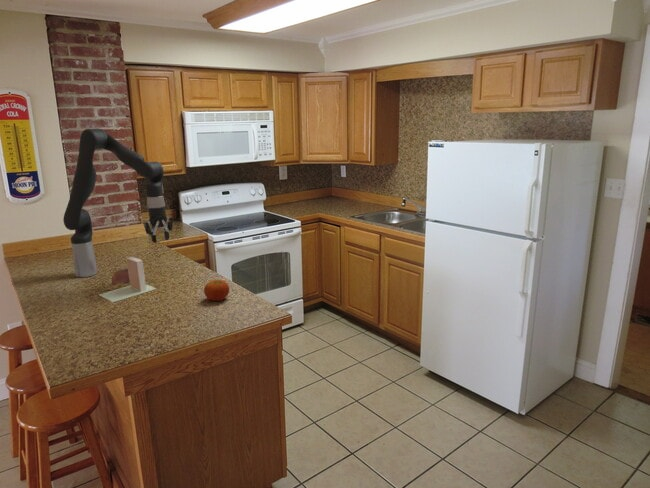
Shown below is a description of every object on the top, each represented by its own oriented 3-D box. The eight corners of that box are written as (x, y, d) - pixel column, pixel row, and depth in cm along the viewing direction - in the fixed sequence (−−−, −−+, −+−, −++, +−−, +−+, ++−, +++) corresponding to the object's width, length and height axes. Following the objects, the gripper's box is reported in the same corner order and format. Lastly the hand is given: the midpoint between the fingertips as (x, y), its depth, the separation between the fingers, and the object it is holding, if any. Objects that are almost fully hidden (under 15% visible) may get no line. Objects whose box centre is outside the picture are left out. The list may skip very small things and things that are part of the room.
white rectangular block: (135, 285, 215) (131, 256, 211) (146, 289, 208) (142, 260, 205) (130, 286, 213) (126, 257, 209) (141, 291, 207) (136, 261, 203)
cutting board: (141, 283, 219) (141, 282, 219) (156, 289, 210) (156, 288, 210) (98, 295, 205) (98, 294, 205) (112, 303, 196) (112, 302, 196)
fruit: (203, 296, 200) (201, 279, 198) (227, 293, 204) (226, 275, 201) (206, 305, 190) (204, 287, 188) (232, 301, 194) (230, 283, 192)
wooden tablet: (134, 285, 219) (134, 281, 219) (111, 288, 216) (110, 284, 215) (135, 268, 243) (134, 265, 243) (114, 271, 240) (113, 268, 240)
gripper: (166, 202, 221) (170, 236, 225) (137, 207, 211) (142, 243, 215) (174, 204, 216) (178, 239, 220) (145, 209, 206) (150, 245, 210)
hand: (160, 241), depth 218 cm, fingers open, 5 cm apart
